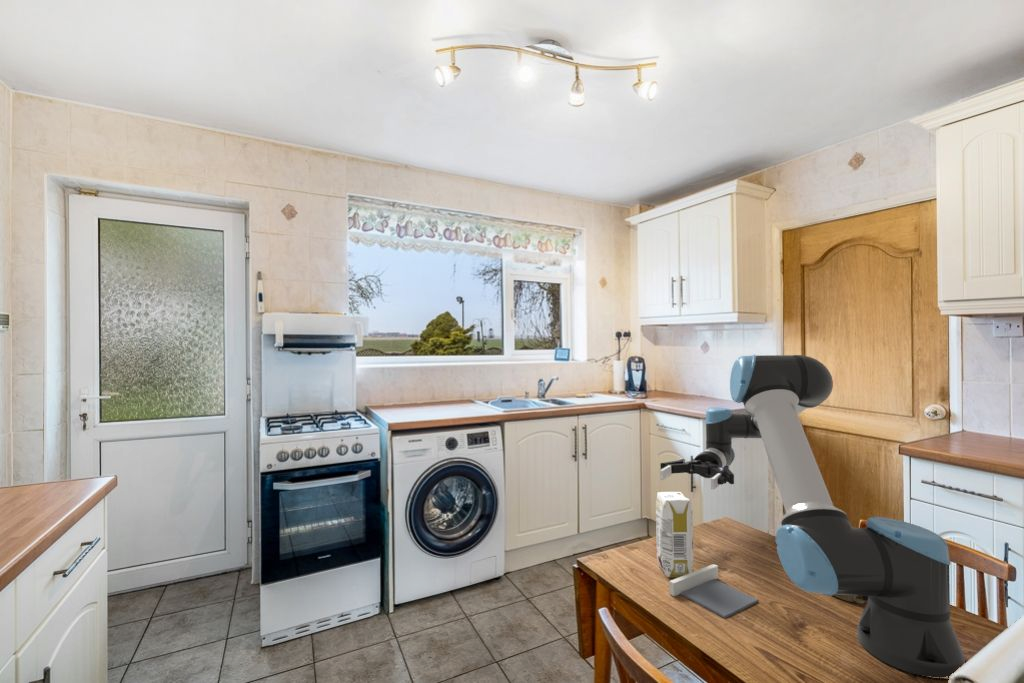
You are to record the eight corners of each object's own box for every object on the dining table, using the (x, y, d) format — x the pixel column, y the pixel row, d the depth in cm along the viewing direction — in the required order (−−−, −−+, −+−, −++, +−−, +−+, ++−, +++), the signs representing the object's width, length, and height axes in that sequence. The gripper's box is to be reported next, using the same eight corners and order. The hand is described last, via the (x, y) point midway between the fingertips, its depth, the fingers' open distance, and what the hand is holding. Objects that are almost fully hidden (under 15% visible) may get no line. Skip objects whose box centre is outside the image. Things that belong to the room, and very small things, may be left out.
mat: (758, 601, 104) (758, 599, 104) (724, 618, 98) (724, 616, 98) (714, 581, 114) (714, 578, 114) (681, 594, 108) (681, 592, 108)
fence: (718, 578, 115) (717, 565, 115) (673, 596, 107) (673, 583, 107) (713, 576, 116) (713, 563, 116) (669, 594, 108) (669, 581, 108)
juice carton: (665, 579, 115) (664, 501, 115) (654, 563, 123) (653, 490, 123) (696, 579, 115) (695, 501, 115) (683, 563, 123) (682, 490, 124)
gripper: (754, 482, 136) (736, 502, 119) (669, 468, 152) (642, 484, 135) (754, 456, 136) (735, 473, 119) (669, 445, 152) (642, 458, 135)
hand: (686, 479), depth 127 cm, fingers open, 13 cm apart
